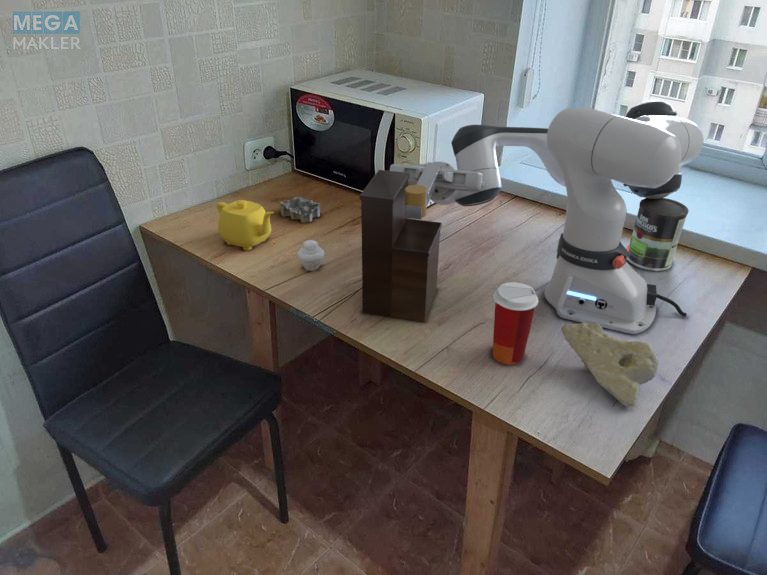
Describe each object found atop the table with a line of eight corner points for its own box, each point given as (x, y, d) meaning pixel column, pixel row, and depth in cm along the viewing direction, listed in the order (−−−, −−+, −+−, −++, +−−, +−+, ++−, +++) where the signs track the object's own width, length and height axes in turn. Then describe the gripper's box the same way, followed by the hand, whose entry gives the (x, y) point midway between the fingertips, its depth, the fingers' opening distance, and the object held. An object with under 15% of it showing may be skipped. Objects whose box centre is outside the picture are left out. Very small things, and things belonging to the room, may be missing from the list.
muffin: (329, 269, 140) (328, 242, 136) (305, 276, 137) (303, 249, 134) (317, 258, 145) (316, 232, 141) (293, 265, 142) (291, 238, 138)
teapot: (291, 242, 152) (287, 202, 146) (262, 260, 144) (257, 219, 138) (236, 225, 159) (231, 186, 154) (205, 242, 151) (199, 202, 146)
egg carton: (276, 214, 165) (275, 200, 163) (295, 205, 170) (294, 192, 168) (305, 225, 160) (304, 210, 158) (324, 215, 165) (323, 201, 163)
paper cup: (523, 342, 117) (533, 280, 110) (533, 368, 111) (544, 303, 103) (482, 343, 117) (490, 280, 109) (490, 369, 110) (498, 304, 103)
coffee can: (646, 274, 139) (661, 218, 132) (616, 254, 148) (630, 200, 140) (681, 267, 143) (699, 212, 135) (651, 247, 151) (666, 194, 143)
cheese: (664, 411, 104) (655, 326, 109) (662, 404, 98) (653, 315, 103) (571, 412, 110) (567, 332, 115) (564, 406, 104) (560, 321, 109)
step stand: (425, 323, 122) (431, 203, 109) (361, 313, 125) (359, 195, 111) (437, 288, 134) (444, 176, 120) (378, 280, 136) (378, 169, 123)
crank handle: (423, 219, 112) (424, 194, 109) (402, 217, 113) (402, 192, 110) (443, 174, 130) (444, 152, 127) (425, 172, 131) (425, 150, 128)
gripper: (483, 200, 138) (479, 193, 124) (395, 191, 142) (382, 183, 129) (486, 172, 137) (483, 162, 124) (398, 164, 142) (385, 153, 128)
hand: (431, 173), depth 126 cm, fingers closed on crank handle, 3 cm apart
